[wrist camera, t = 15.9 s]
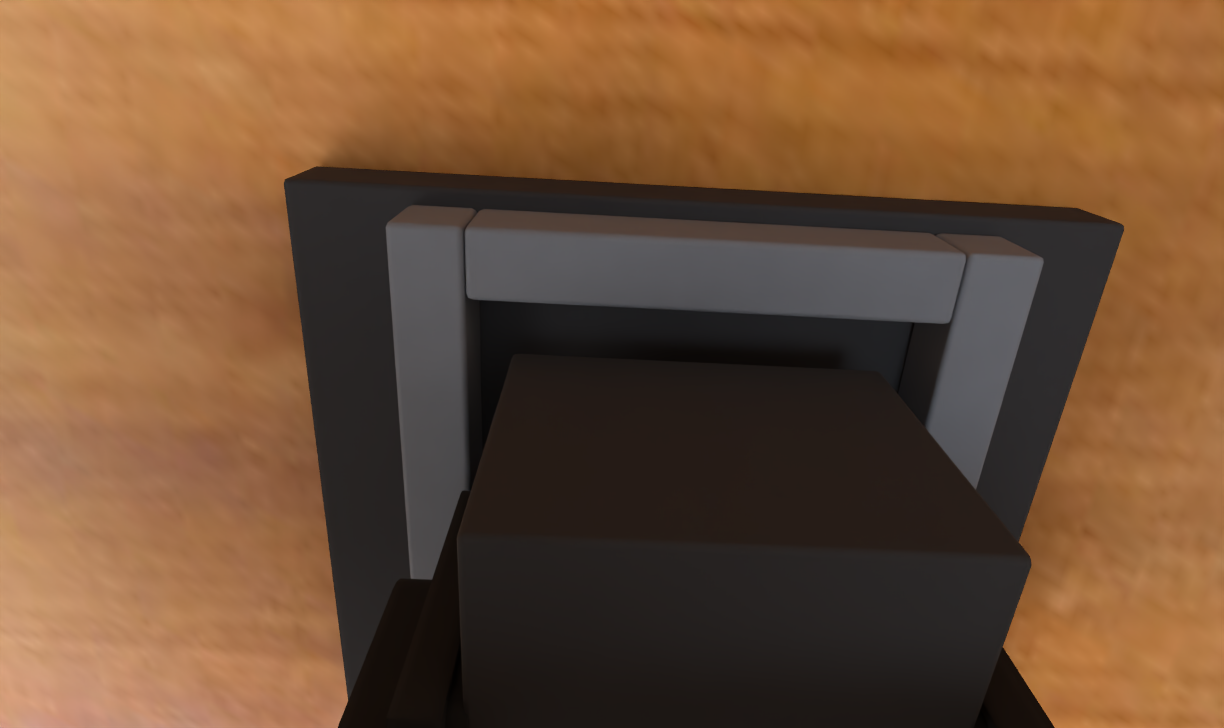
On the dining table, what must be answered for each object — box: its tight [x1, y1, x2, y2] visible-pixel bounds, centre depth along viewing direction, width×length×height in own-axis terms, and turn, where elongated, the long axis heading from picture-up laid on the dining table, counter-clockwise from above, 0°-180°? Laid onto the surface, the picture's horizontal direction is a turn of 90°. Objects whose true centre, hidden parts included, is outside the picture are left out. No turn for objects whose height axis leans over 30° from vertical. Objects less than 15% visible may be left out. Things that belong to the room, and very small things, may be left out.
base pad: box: [284, 167, 1124, 701], centre depth 13 cm, size 12×11×2 cm
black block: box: [457, 354, 1031, 728], centre depth 9 cm, size 5×7×4 cm
